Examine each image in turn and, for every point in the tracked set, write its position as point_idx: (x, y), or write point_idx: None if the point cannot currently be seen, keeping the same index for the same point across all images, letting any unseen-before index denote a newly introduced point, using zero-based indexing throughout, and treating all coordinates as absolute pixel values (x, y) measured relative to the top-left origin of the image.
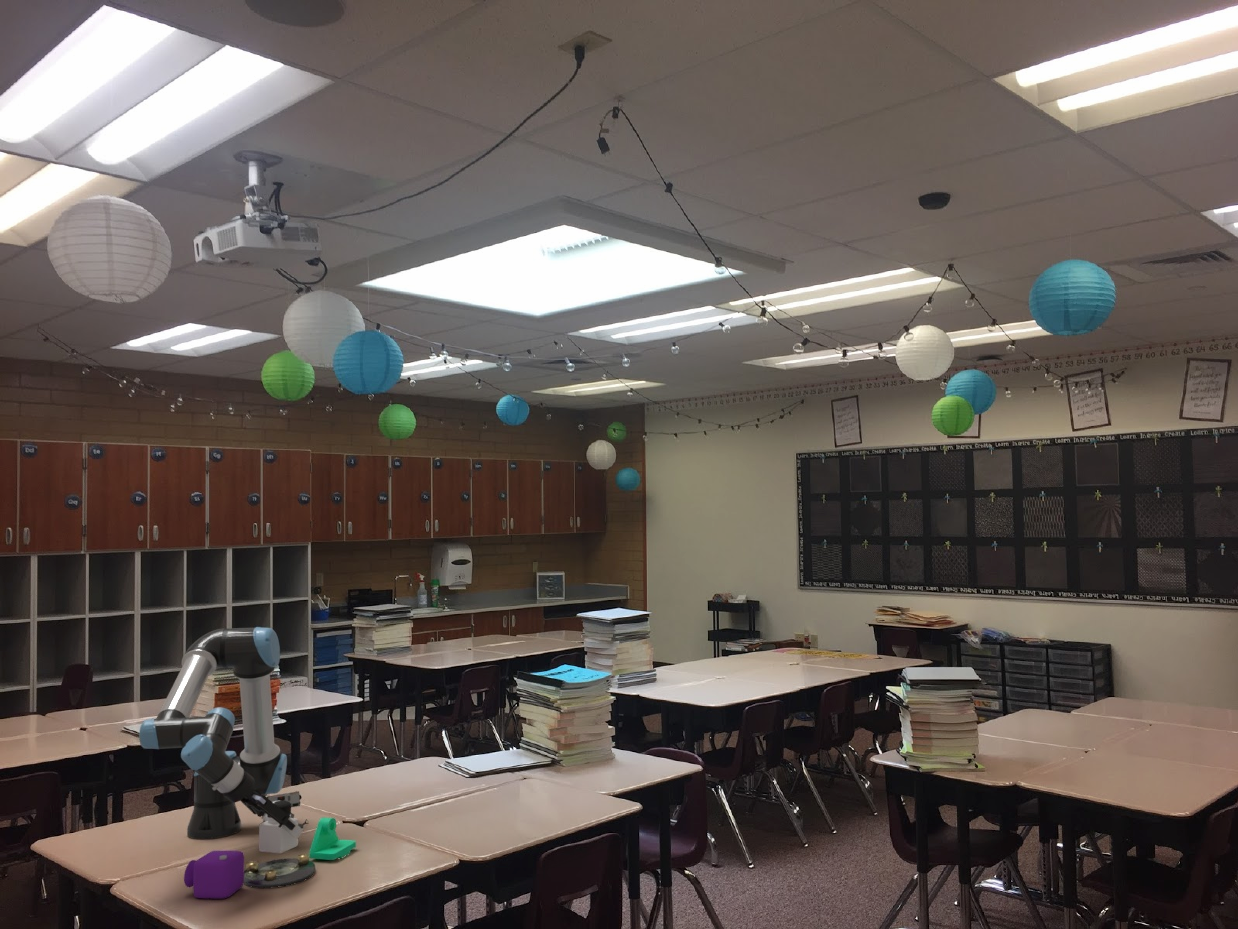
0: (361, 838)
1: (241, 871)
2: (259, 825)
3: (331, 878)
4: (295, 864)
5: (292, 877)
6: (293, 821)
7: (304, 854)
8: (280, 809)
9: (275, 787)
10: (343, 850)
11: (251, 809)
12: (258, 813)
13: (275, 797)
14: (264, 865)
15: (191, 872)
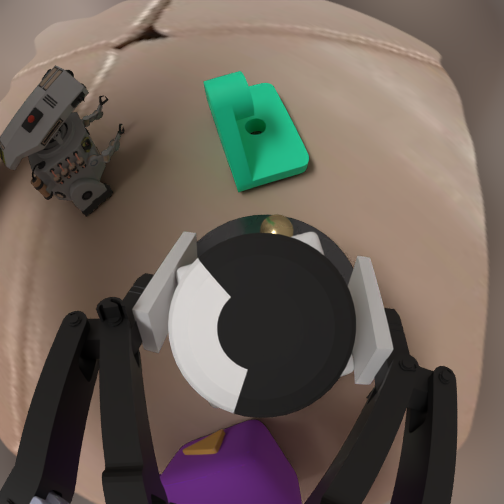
0: (217, 59)
1: (271, 449)
2: (215, 407)
3: (396, 248)
4: None
5: None
6: (383, 308)
7: (272, 223)
8: (454, 441)
9: None
10: (293, 127)
11: (91, 391)
12: (142, 382)
13: (16, 130)
14: None
15: None
